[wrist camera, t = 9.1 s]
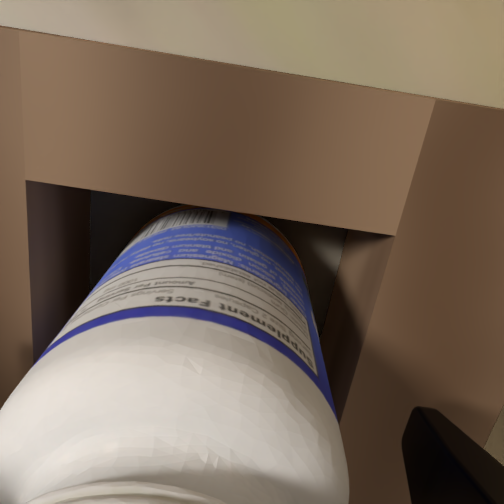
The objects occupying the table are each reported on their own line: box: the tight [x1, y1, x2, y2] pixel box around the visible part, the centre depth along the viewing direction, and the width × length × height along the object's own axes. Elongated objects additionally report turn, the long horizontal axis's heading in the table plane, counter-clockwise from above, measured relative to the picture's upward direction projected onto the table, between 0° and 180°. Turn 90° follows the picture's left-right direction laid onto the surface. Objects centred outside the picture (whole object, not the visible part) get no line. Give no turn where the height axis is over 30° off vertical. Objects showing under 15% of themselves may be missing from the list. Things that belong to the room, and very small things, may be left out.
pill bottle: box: [0, 204, 349, 504], centre depth 9 cm, size 5×5×10 cm
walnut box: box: [0, 26, 504, 504], centre depth 11 cm, size 14×12×4 cm
